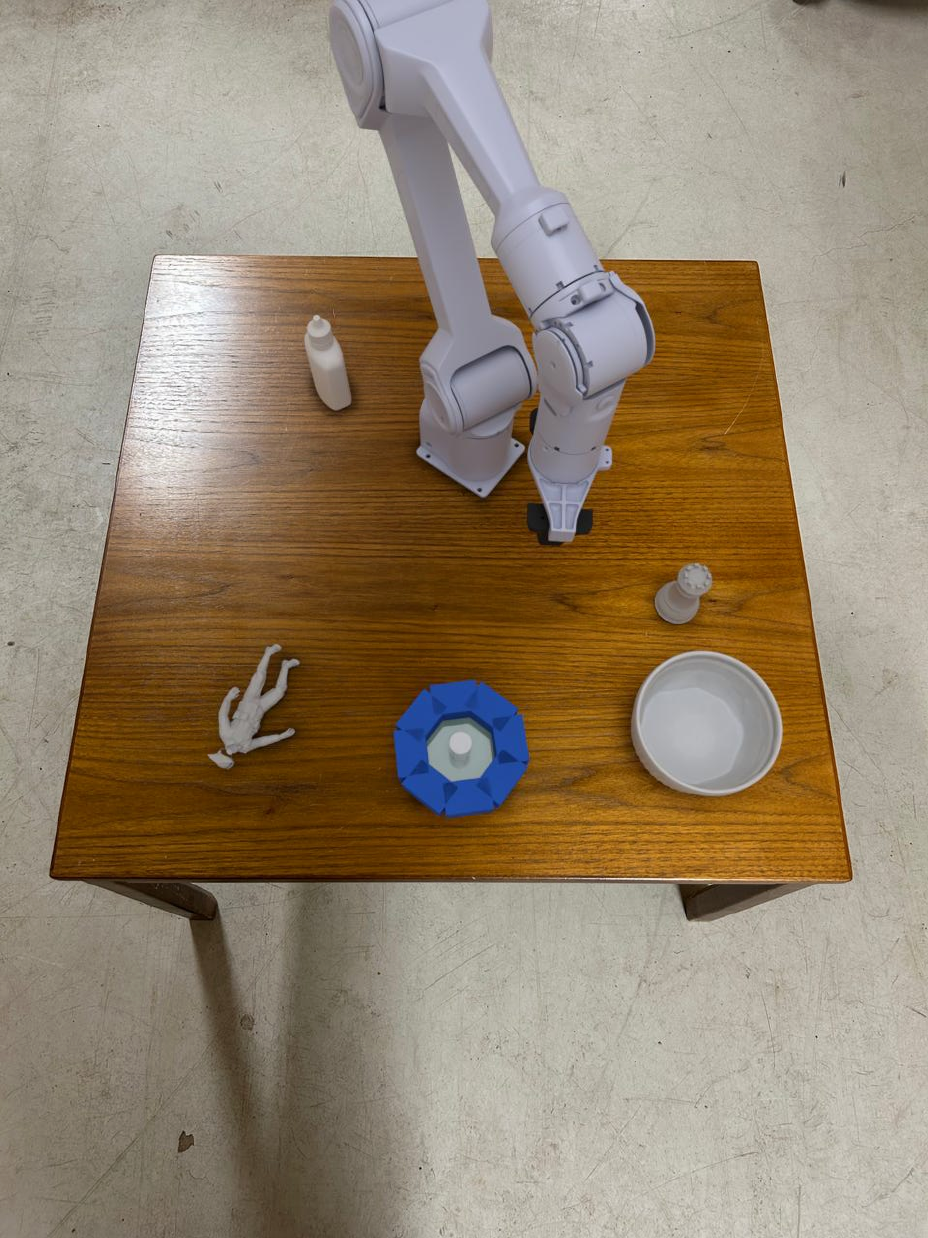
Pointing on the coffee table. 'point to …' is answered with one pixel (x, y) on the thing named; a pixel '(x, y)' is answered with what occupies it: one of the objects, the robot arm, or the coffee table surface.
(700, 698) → the ramekin
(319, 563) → the coffee table surface
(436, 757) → the pale green peg block
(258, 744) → the soldier figure
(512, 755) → the blue ring
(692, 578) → the rook chess piece
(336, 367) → the eye dropper bottle
